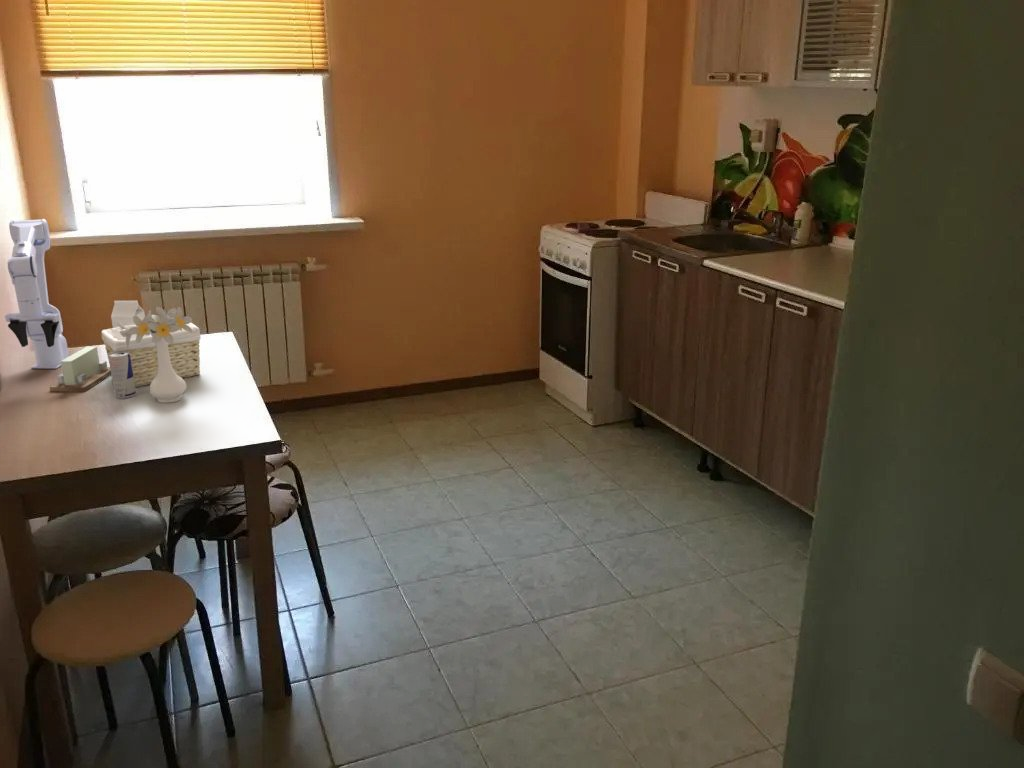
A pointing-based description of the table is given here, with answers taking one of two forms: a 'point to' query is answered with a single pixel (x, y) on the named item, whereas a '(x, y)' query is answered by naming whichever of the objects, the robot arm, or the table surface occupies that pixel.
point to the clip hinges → (82, 378)
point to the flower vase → (161, 349)
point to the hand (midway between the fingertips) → (38, 345)
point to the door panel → (80, 365)
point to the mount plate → (90, 382)
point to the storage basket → (145, 353)
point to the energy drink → (122, 375)
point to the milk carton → (126, 313)
